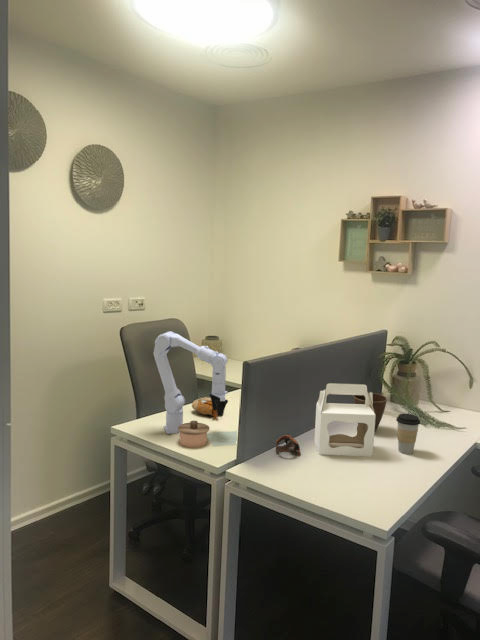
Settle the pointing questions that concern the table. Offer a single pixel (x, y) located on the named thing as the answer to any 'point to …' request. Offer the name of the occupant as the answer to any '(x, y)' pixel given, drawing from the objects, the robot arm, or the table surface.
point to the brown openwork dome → (287, 444)
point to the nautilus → (204, 406)
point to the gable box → (348, 414)
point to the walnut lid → (193, 428)
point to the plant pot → (374, 406)
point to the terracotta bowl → (193, 440)
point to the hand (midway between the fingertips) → (217, 412)
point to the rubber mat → (222, 438)
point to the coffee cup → (407, 432)
